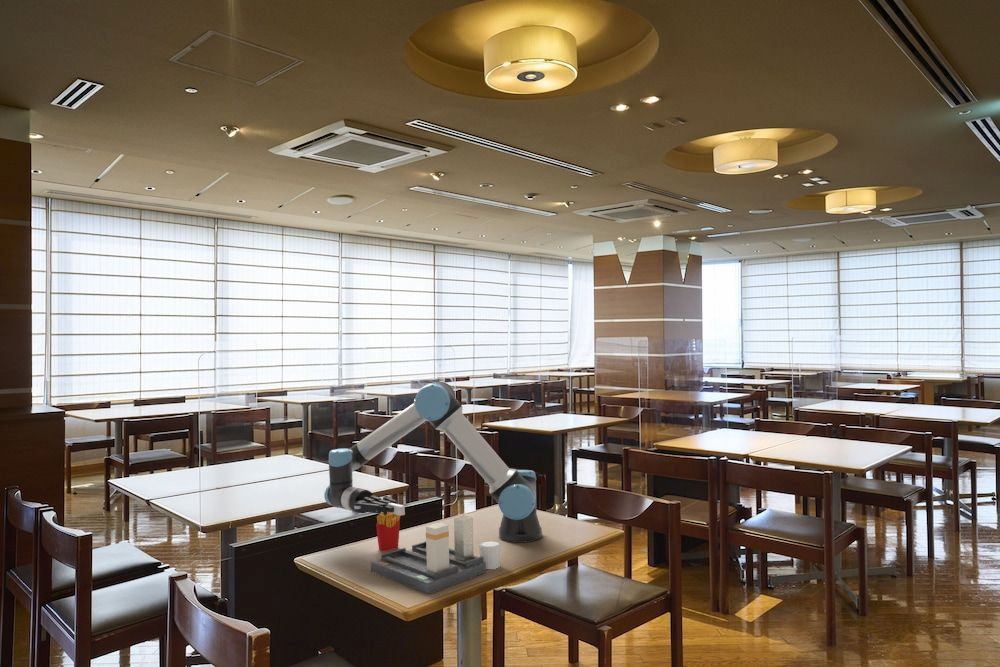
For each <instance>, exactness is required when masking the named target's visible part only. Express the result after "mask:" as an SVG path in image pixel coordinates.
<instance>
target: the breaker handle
mask: <svg viewBox="0 0 1000 667" xmlns="http://www.w3.org/2000/svg"><path fill="white" fill-rule="evenodd" d="M449 532H450V530H449V524H447V523H442V522H436V523H433V524H430V525H426V526H425V538H426V539H425V541H426V553H427V570H428V571H431V572H434V573H435V572H438V571H441V570H444V569H446V568H449V548H450V540H449V537H450V534H449Z"/></svg>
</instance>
